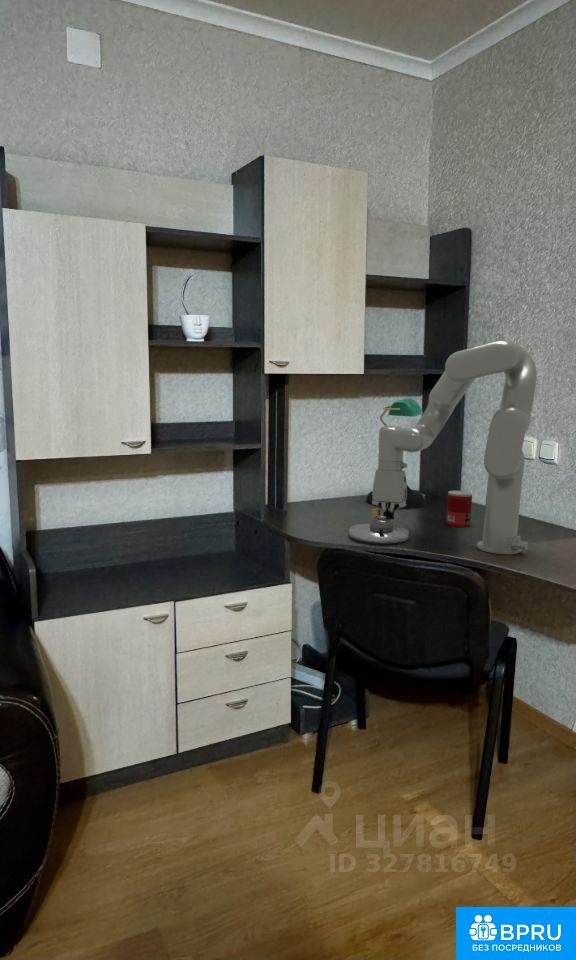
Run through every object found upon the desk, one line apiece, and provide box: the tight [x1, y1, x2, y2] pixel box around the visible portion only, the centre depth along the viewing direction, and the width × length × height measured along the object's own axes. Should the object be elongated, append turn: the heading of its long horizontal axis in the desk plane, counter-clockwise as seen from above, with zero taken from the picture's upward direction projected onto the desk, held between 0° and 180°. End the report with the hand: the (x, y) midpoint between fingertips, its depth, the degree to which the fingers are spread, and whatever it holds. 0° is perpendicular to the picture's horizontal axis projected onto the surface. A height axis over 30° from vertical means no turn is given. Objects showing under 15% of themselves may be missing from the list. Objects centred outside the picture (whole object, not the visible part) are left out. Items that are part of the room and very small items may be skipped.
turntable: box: [348, 508, 409, 544], centre depth 212 cm, size 18×18×7 cm
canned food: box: [445, 490, 473, 528], centre depth 234 cm, size 8×8×11 cm
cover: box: [369, 514, 394, 533], centre depth 212 cm, size 7×7×4 cm
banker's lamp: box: [365, 397, 427, 510], centre depth 266 cm, size 26×23×40 cm
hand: (388, 523), depth 218 cm, fingers closed
